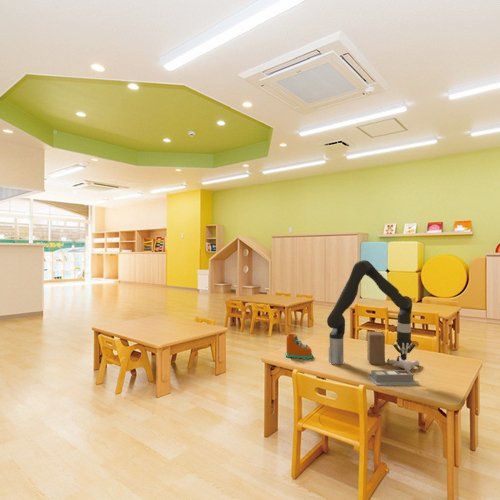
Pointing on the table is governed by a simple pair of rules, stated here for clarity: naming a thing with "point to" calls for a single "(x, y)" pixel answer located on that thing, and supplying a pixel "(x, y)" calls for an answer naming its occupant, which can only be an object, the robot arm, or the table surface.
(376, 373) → the key sage
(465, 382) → the table surface
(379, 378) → the keypad board
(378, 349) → the wooden block
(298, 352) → the toy shoe
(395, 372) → the key grey
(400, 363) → the yeti figurine
